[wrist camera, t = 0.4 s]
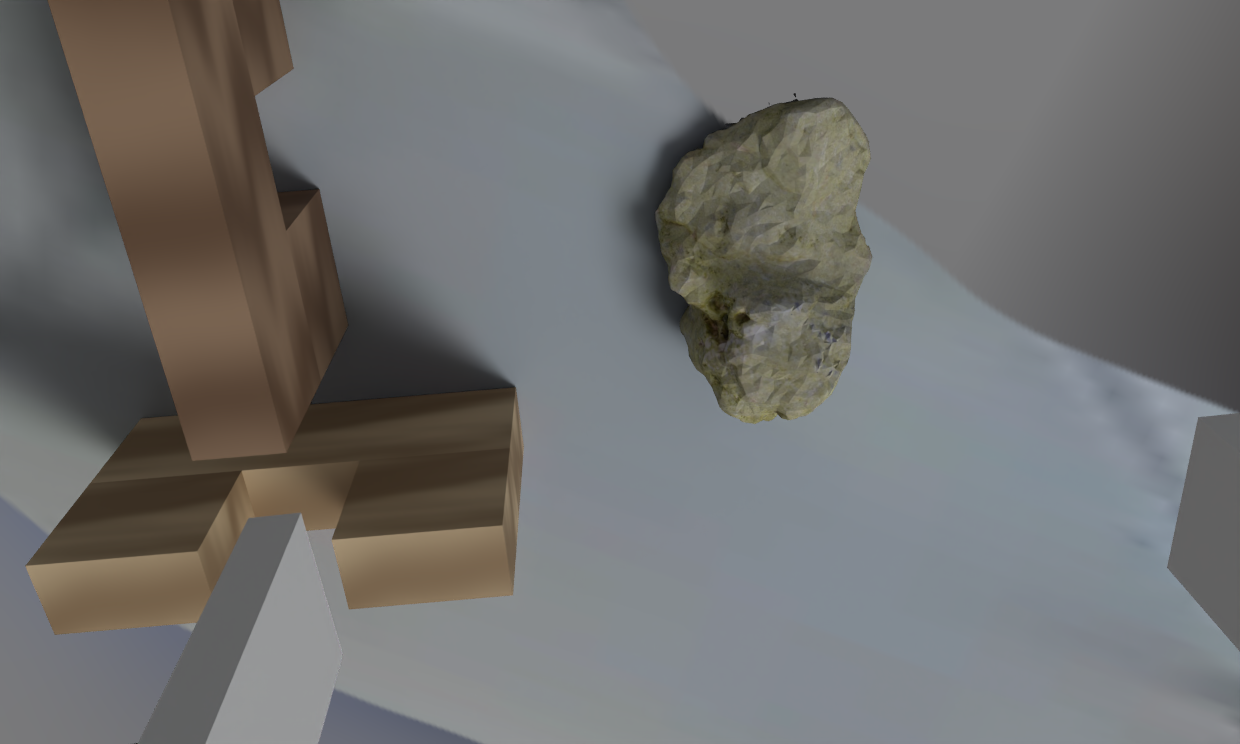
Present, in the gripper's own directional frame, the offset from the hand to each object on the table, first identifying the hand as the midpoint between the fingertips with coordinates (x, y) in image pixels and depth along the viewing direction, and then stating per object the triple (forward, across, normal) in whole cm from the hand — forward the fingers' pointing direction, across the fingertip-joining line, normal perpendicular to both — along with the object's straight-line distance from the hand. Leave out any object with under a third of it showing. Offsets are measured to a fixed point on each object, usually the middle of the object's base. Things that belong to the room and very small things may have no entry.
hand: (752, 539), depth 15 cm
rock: (+26, +5, -5) cm, 27 cm away
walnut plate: (+25, -14, +2) cm, 29 cm away
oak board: (+25, -14, -12) cm, 31 cm away
